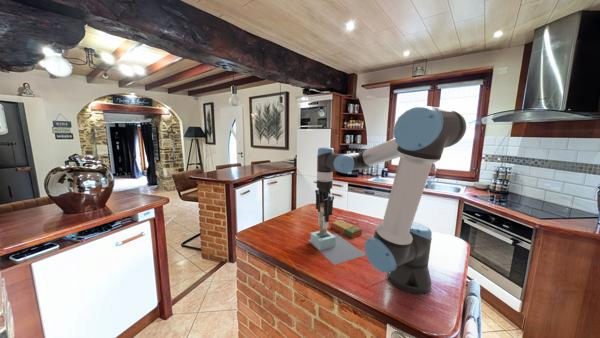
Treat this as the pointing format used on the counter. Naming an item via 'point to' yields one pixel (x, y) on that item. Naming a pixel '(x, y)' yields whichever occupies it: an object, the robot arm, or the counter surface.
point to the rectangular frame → (323, 240)
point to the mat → (341, 251)
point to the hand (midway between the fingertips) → (323, 225)
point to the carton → (346, 228)
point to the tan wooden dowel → (322, 230)
